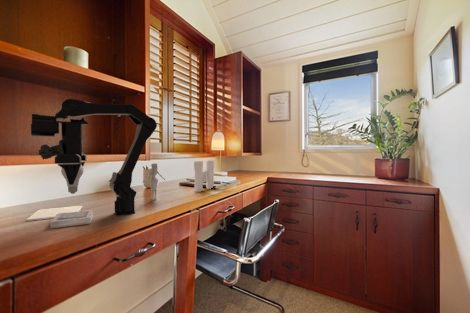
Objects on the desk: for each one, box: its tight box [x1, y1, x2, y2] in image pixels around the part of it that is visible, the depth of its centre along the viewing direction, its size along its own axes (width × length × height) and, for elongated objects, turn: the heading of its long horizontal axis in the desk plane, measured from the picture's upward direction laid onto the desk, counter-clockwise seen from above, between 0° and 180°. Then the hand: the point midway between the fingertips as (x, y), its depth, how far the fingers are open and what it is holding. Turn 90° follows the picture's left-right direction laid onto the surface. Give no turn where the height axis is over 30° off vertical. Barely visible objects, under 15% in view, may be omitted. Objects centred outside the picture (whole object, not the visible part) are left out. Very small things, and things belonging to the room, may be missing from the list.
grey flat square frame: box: [49, 209, 94, 229], centre depth 76 cm, size 10×10×2 cm
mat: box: [26, 205, 83, 222], centre depth 85 cm, size 14×14×1 cm
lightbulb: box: [60, 165, 84, 195], centre depth 75 cm, size 6×6×11 cm
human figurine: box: [142, 163, 166, 201], centre depth 108 cm, size 12×4×18 cm, turn 141°
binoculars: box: [193, 159, 215, 193], centre depth 138 cm, size 17×5×18 cm, turn 151°
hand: (72, 183), depth 76 cm, fingers closed on lightbulb, 5 cm apart
